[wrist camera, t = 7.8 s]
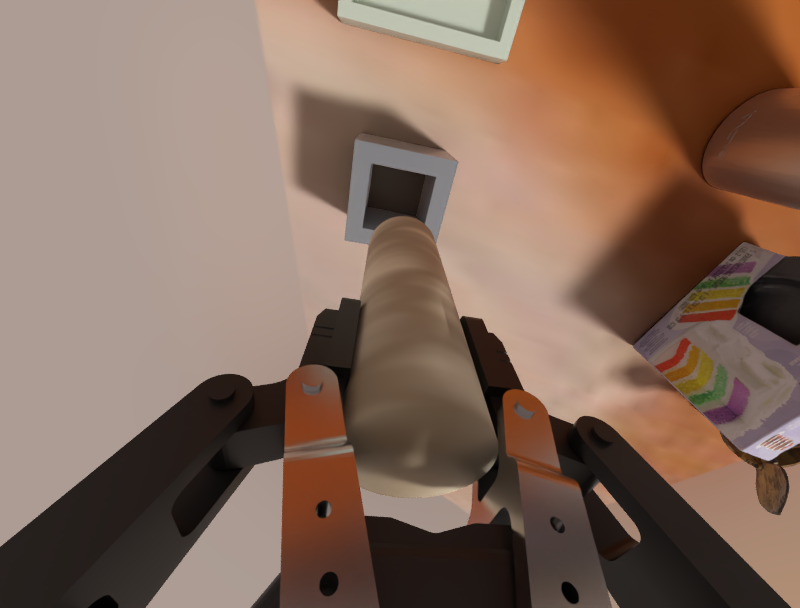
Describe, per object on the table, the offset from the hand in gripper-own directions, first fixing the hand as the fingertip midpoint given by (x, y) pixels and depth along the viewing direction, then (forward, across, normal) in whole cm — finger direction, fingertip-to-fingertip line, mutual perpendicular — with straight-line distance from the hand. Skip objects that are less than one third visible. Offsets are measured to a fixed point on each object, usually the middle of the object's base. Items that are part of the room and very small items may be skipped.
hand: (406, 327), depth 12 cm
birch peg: (+8, 0, 0) cm, 8 cm away
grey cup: (+25, 0, 0) cm, 25 cm away
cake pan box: (+26, -43, +7) cm, 50 cm away
